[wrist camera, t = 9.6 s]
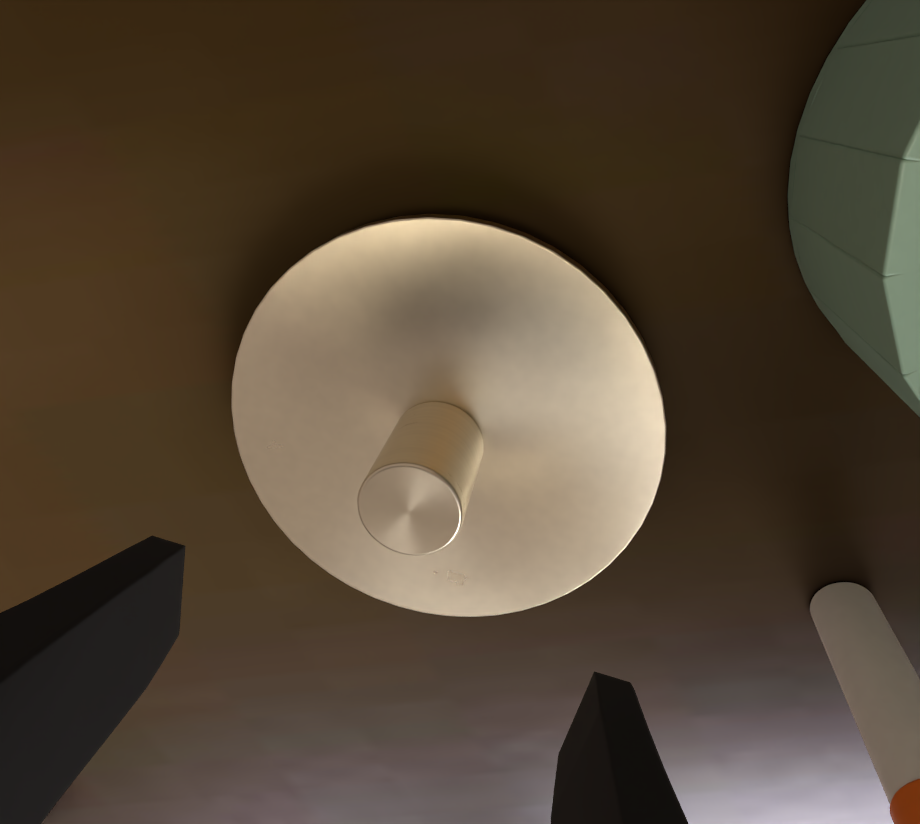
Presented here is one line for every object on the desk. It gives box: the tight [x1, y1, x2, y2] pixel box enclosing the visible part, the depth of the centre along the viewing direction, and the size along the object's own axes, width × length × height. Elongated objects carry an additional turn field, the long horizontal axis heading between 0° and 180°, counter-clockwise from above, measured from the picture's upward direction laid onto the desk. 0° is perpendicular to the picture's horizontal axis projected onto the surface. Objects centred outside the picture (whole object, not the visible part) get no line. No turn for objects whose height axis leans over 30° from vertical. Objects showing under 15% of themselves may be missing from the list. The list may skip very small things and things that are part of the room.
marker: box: [810, 582, 920, 824], centre depth 16 cm, size 2×2×8 cm
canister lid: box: [231, 214, 667, 617], centre depth 18 cm, size 12×12×4 cm
